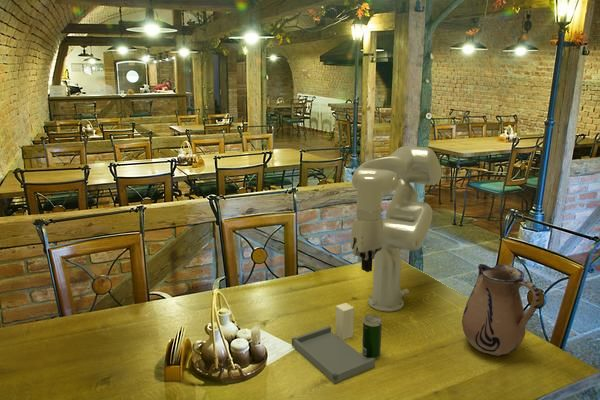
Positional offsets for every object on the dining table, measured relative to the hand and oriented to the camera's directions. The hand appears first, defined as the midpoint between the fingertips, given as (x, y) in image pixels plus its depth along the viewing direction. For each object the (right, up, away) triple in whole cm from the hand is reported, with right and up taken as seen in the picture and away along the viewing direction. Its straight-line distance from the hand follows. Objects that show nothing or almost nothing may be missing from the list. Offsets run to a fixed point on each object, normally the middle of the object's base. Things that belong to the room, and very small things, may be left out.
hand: (366, 270), depth 153 cm
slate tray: (-12, -24, -10) cm, 28 cm away
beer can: (0, -24, -9) cm, 26 cm away
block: (-7, -21, +1) cm, 22 cm away
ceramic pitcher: (+38, -23, -7) cm, 45 cm away
